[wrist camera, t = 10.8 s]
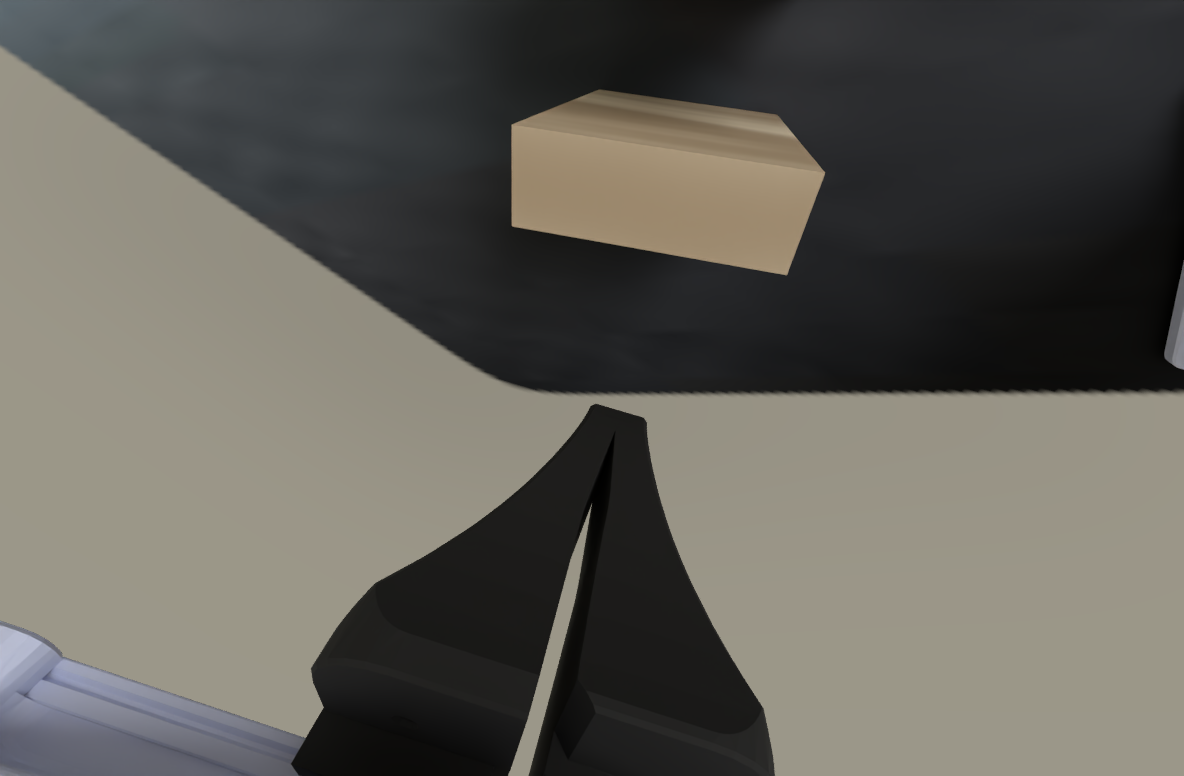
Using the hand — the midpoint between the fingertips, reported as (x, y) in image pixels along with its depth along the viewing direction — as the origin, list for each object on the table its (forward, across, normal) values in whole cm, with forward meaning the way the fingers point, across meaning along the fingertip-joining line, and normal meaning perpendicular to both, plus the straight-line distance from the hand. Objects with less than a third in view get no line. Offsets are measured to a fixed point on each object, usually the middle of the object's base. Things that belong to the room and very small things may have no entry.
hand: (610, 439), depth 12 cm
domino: (+6, 0, -6) cm, 9 cm away
